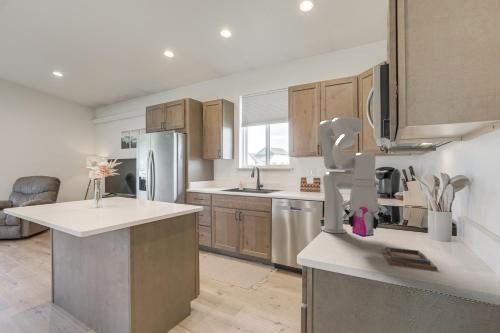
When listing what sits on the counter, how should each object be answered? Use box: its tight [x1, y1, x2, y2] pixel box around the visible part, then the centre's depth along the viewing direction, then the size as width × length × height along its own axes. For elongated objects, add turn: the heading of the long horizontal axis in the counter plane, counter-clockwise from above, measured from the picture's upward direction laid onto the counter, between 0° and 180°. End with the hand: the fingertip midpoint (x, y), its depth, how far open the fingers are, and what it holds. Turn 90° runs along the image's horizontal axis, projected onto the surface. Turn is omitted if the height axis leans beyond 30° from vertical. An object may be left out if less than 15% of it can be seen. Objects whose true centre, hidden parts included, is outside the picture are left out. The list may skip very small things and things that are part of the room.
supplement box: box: [351, 207, 375, 238], centre depth 97 cm, size 6×6×12 cm
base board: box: [380, 246, 438, 272], centre depth 88 cm, size 14×14×2 cm
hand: (362, 226), depth 96 cm, fingers closed on supplement box, 8 cm apart
